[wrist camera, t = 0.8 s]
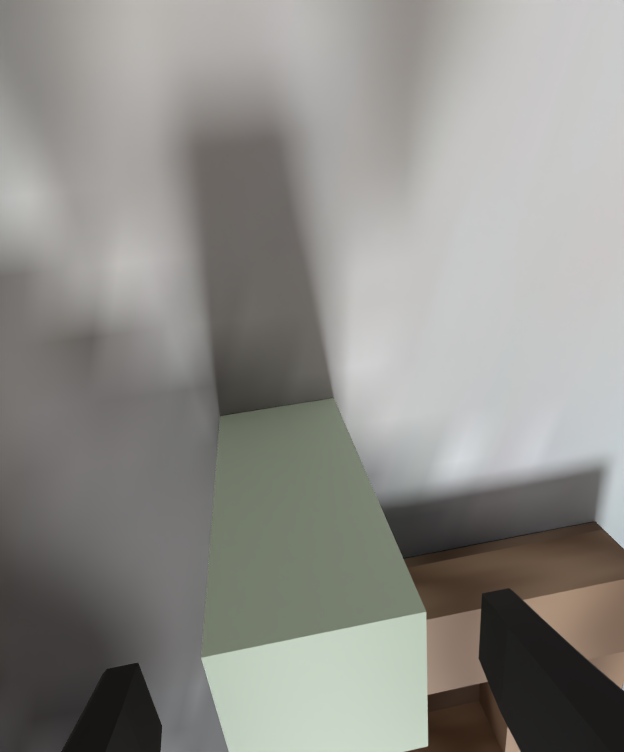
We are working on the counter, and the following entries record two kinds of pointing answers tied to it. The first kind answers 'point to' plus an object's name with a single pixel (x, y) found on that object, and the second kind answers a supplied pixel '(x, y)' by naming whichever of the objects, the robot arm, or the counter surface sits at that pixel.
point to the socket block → (541, 592)
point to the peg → (308, 594)
